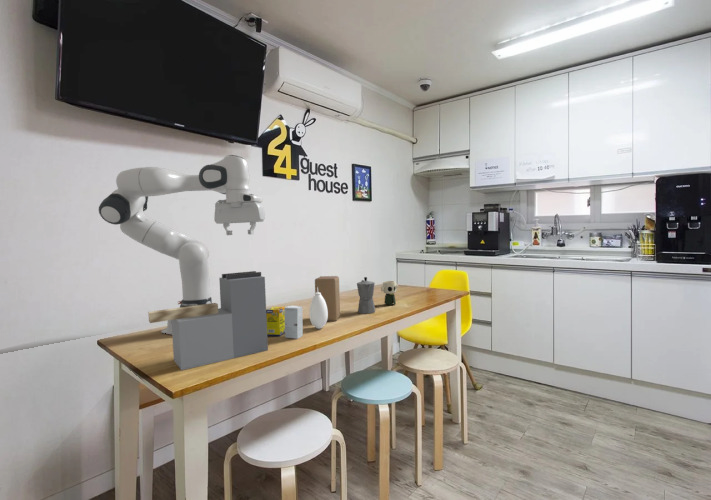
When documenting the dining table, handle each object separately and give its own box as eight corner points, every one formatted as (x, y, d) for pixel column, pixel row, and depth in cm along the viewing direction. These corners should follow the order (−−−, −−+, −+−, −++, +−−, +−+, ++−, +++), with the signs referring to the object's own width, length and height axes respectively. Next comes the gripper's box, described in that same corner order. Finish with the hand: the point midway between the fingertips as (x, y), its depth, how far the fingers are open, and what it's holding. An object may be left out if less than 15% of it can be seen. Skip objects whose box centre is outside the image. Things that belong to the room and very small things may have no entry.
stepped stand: (181, 370, 109) (176, 280, 108) (173, 360, 119) (169, 277, 118) (267, 350, 126) (264, 272, 125) (255, 342, 136) (251, 270, 135)
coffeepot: (379, 314, 178) (377, 278, 177) (360, 315, 176) (359, 279, 175) (371, 308, 193) (370, 274, 192) (354, 309, 191) (353, 275, 190)
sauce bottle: (330, 326, 157) (329, 285, 156) (325, 330, 149) (323, 288, 149) (313, 325, 159) (312, 285, 158) (307, 330, 151) (305, 288, 150)
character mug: (385, 306, 194) (384, 283, 194) (378, 304, 201) (377, 281, 200) (401, 304, 199) (401, 281, 199) (394, 302, 206) (394, 280, 205)
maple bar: (150, 323, 108) (149, 313, 108) (148, 321, 111) (148, 311, 110) (218, 312, 120) (217, 304, 120) (215, 311, 122) (215, 302, 122)
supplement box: (280, 336, 143) (279, 309, 142) (266, 336, 144) (265, 309, 144) (286, 332, 149) (285, 306, 148) (272, 332, 150) (271, 306, 149)
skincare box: (284, 337, 141) (283, 307, 140) (290, 334, 145) (289, 305, 145) (298, 339, 139) (296, 308, 138) (303, 335, 143) (302, 305, 142)
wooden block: (320, 316, 176) (319, 276, 176) (340, 316, 175) (339, 275, 174) (315, 321, 167) (314, 278, 166) (336, 321, 165) (335, 278, 164)
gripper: (209, 199, 136) (211, 235, 137) (257, 196, 131) (258, 234, 131) (220, 200, 142) (222, 235, 143) (266, 197, 137) (267, 233, 137)
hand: (240, 234), depth 137 cm, fingers open, 8 cm apart
